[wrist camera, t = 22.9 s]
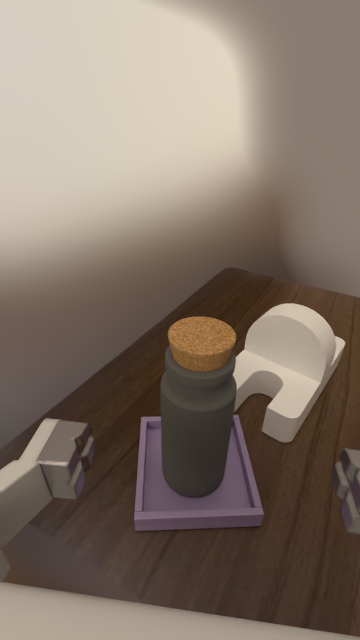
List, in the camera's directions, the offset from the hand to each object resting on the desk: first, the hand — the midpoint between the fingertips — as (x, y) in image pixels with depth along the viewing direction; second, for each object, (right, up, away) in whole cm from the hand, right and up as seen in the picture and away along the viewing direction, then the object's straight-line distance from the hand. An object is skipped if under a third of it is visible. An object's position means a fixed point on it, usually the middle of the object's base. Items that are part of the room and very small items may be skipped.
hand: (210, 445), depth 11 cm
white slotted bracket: (+12, -4, +31) cm, 33 cm away
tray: (0, -10, +20) cm, 22 cm away
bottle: (0, -10, +19) cm, 22 cm away
